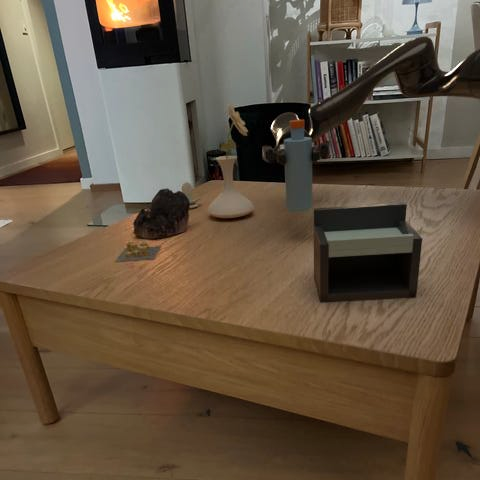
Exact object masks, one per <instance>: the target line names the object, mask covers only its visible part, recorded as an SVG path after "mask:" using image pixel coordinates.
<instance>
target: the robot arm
mask: <svg viewBox="0 0 480 480" xmlns="http://www.w3.org/2000/svg"><path fill="white" fill-rule="evenodd" d="M392 74H394V78H395V81H396V84H397V87H398V90H399V92H400V93H401V94H402V95H403V96H404V97H408V98H432V97H433V98H434V97H436V98H437V97H453V98H466V99H475V100H480V48H478V49H476V50H474V51H473V52H471V53H470V54H468V55H467V56H466V57H464V58H463V60H462V61H461V62H460V63H459V64H458V65H456V67H454V68H453V69H452V70H451V71H445V70H442V69H441V68H440V65H439V62H438V56H437V53H436V49H435V44H434V41H433V40H432V38H431V37H429V36H418V37H415V38H412V39H410V40H408V41H407V42H405V43H403V44H401V45H400V46H398V47H397V48H395V49H394V50H392V51H391V52H390V53H388V54H387V55H386V56H384V57H383V58H382V59H380V60H379V61H377V62H376V63H375V64H374V65H372V66H371V67H370V68H368V69H367V70H365V72H363V73H362V74H360V75H359V76H357V78H355V79H354V80H353V81H351V82H349V84H347V85H346V86H343V88H341V89H339V90H338V91H336V92H335V93H334V92H333V94H331V95H329V96H327V97H326V98H324V99H322V100H320V101H319V102H317V103H315V104H313V105H312V106H311V107H310V108H309V109H308V118H309V121H310V130H309V132H308V131H307V130H306V129H305V128H304V137H310V138H312V164H314V163H315V164H316V163H318V161H320V160H321V159H322V160H327V159H328V158H329V156H330V154H331V141H330V140H328V139H327V140H324V141H322V142H320V145H319V144H317V141H318V140H319V139H320V138H321V137H323V136H324V135H325V134H327V133H329V132H331V131H332V130H335V129H336V128H338V127H340V126H341V125H344V124H345V123H347V122H348V121H349V120H352V118H353V117H354V116H356V114H357V113H358V112H359V111H360V110H361V108H362V107H363V105H364V104H365V102H366V101H367V99H368V98H369V97H370V95H371V93H372V92H373V91H374V90H375V89H376V88H377V86H378V85H379V84H380V83H381V82H382V81H383V80H384V79H385V78H387V77H388V76H389V75H392ZM292 120H300V118H299V117H298V115H297V114H296V113H294V112H290V111H289V112H284V113H282V114H280V115H278V116H277V117H276V118H275V119H274V120H273V122H272V124H271V126H270V131H271V133H272V135H273V137H274V139H275V141H276V142H275V143H276V145H275V146H274V148H272V146H269V145H263V146H262V147H261V148H262V161H265V162H266V163H267V164H274V163H275V161H276V162H277V164H280V165H281V166H285V152H284V140H285V139H288V138H291V128H290V121H292Z"/></svg>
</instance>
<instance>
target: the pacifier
mask: <svg viewBox="0 0 480 480" xmlns="http://www.w3.org/2000/svg"><path fill="white" fill-rule="evenodd" d="M181 192H183V193H184V194H185V195H186V196H187V198H188V199H189V202H190V207H189V209H194V208H197V207H198V206H199V204H198V203H197V202H199V201H200V200H201V199H202V196H200V197H197V198H195V199H193V194H192V193H193V185H192V183H190V182H188V181H187V182H184V183H182V186H181Z"/></svg>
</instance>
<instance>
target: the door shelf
mask: <svg viewBox="0 0 480 480" xmlns="http://www.w3.org/2000/svg"><path fill="white" fill-rule="evenodd" d="M407 207H408V203H406V202H391V203H376V204H375V203H373V204H361V205H360V204H359V205H347V206H346V205H345V206H330V207H315V208H314V207H313V208H312V209H313V210H312V211H313V212H312V213H313V278H314V282H315V287H316V290H317V295H318V299H319V302H320V303H330V302H331V303H332V302H351V301H370V300H371V301H372V300H387V299H406V298H407V299H411V298H417V294H418V286H419V285H418V284H419V276H420V275H419V274H420V265H421V264H420V263H421V255H422V245H423V238H422V237H421V235H420V234H419V233H418V232H417V231H416V230H415V229H414V228H413V227H412V226H411V224H410V223H409V222H408V221H407V209H408V208H407Z"/></svg>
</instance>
